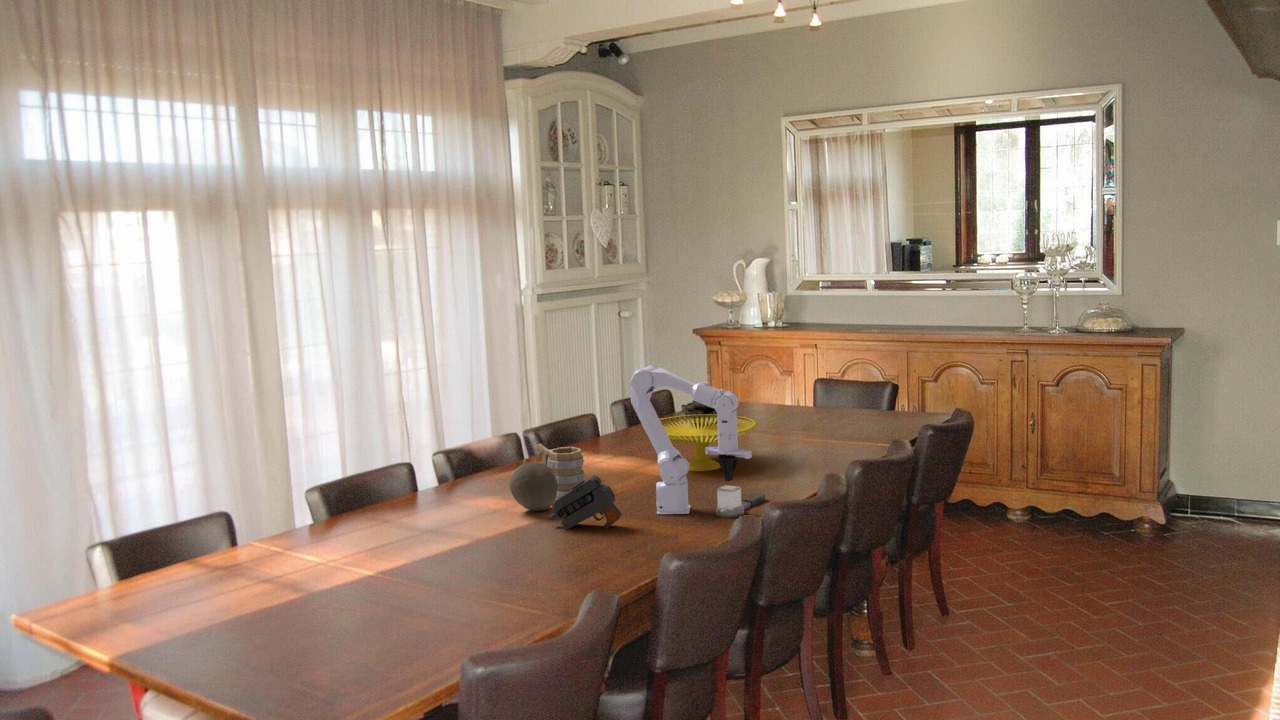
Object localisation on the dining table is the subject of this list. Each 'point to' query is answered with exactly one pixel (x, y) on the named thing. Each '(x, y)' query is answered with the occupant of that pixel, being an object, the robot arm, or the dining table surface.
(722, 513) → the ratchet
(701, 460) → the cake stand
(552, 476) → the cantaloupe
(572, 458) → the tankard
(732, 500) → the white boxy piece
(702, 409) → the dark rounded lump
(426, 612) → the dining table surface
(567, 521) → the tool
